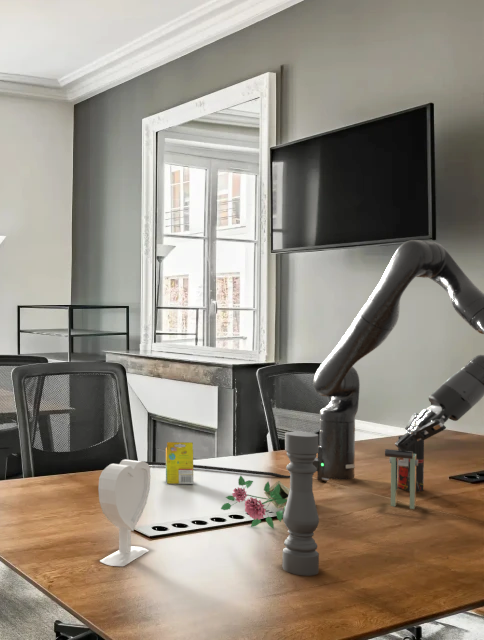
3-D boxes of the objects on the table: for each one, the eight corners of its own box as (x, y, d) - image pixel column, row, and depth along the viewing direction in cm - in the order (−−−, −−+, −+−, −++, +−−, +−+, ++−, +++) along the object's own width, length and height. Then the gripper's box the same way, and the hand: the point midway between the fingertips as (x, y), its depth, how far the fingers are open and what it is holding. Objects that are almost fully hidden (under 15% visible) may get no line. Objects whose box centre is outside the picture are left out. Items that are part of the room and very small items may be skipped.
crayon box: (192, 482, 207) (192, 440, 207) (193, 484, 204) (194, 442, 204) (165, 481, 208) (165, 440, 208) (166, 483, 205) (166, 442, 205)
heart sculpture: (118, 569, 135) (119, 471, 135) (94, 563, 138) (94, 467, 138) (153, 548, 148) (154, 458, 148) (130, 543, 151) (131, 455, 151)
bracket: (423, 518, 171) (423, 459, 171) (379, 512, 176) (380, 455, 176) (426, 509, 180) (426, 452, 179) (384, 504, 184) (385, 449, 184)
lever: (412, 460, 165) (412, 449, 165) (384, 457, 168) (385, 446, 168) (417, 468, 177) (417, 458, 178) (391, 465, 180) (391, 456, 181)
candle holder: (276, 564, 139) (277, 431, 138) (308, 563, 139) (309, 431, 139) (292, 575, 132) (293, 436, 132) (325, 575, 133) (326, 436, 133)
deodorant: (426, 497, 192) (427, 439, 192) (401, 496, 193) (402, 438, 193) (418, 492, 198) (419, 436, 198) (394, 490, 199) (395, 435, 199)
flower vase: (314, 542, 177) (263, 543, 150) (267, 518, 185) (210, 514, 158) (333, 497, 176) (286, 490, 150) (285, 474, 184) (232, 464, 158)
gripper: (432, 380, 172) (376, 431, 174) (458, 385, 159) (397, 440, 161) (456, 404, 172) (399, 454, 173) (485, 410, 159) (423, 465, 160)
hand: (399, 447), depth 167 cm, fingers closed
